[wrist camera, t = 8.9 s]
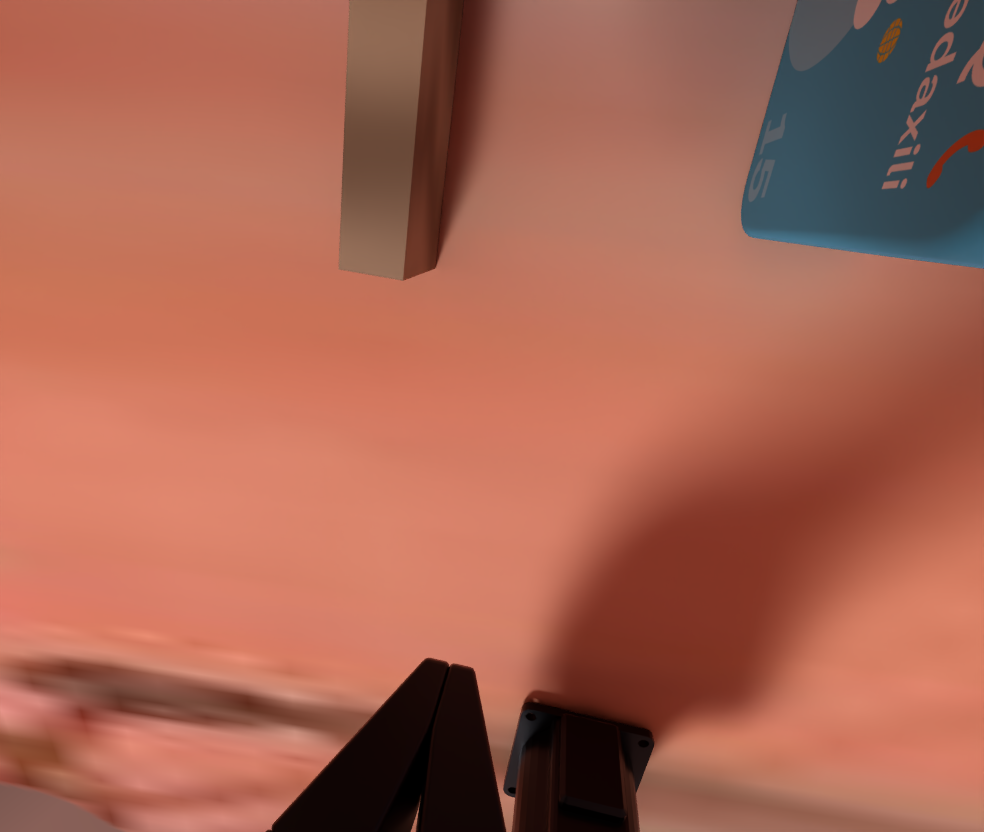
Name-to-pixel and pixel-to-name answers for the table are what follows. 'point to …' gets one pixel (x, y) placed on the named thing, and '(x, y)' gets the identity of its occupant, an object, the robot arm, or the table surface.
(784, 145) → the data package
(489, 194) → the table surface
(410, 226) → the brown angled bar
